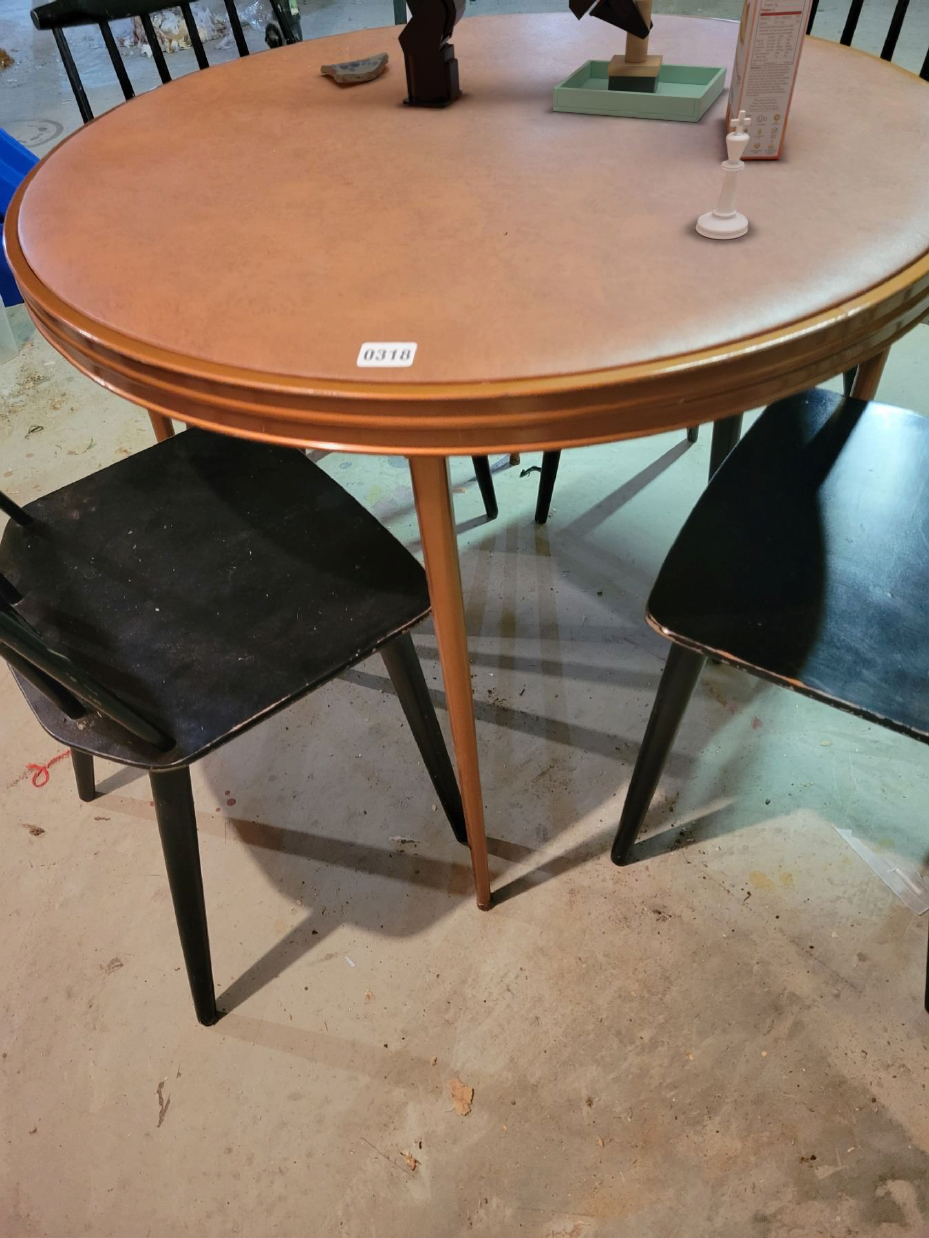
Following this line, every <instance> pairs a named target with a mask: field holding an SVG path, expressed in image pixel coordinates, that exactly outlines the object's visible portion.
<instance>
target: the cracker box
mask: <svg viewBox="0 0 929 1238" xmlns="http://www.w3.org/2000/svg"><path fill="white" fill-rule="evenodd" d="M812 6H813V0H743V2H742V6H741V14H740V22H739V27H738V34H737V39H736V41H737V42H736V47H735V54H734V59H733V66H732V73H731V80H730V86H729V93H728V99H727V104H726V105H727V106H726V113H725V121H726V122H725V124H726V136H727V135H728V134H730V133H733V132H736V127H737V126H734V127H731V126H730V122H731V120H732V119H738V115H739V111H742V110H744V111H745V112H746V113H745V118H751V123H750V125H743V130H742V132H744V133H746V134H748V135H749V141H748V143H747V145H746V146H745V148H744V151H743V153H742V155H741V157H740V161H743V160H775V159H776V160H780V159H781V154H782V150H783V145H784V142H785V141H784V139H785V135H786V131H787V126H788V120H789V116H790V111H791V106H792V103H793V97H794V92H795V87H796V82H797V77H798V72H799V68H800V63H801V58H802V53H803V48H804V44H805V38H806V33H807V30H808V26H809V20H810V15H811V10H812Z"/></svg>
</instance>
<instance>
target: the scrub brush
mask: <svg viewBox="0 0 929 1238" xmlns="http://www.w3.org/2000/svg"><path fill="white" fill-rule="evenodd" d="M635 1H636V3H637V5H638V7H639V9H640V11H641V13H642V15H643V17H644V19H645V21H646V24H647V26H648V28H649V30H650V21H651V20H652V12H653V11H652V9H653V0H635ZM650 31H651V30H650ZM625 39H626V40H625V48H624V49H625V50H624V54H614V55H613V56H612V57H611V59H610V60H609V61H610V63H609V64H608V70H607V76H609V81H608V90H610V91H624V92H639V93H654V94H655V93H656V91H657V88H658V79H659V71H660V68H661V66H662V64H663V57H664V56H663V54H648V49H649V40H650V34H649V35H648V36H647V37H646V38H645V39H644V40H643V39H640V38H638V37H636V36H634V35H632V34H630V33H628V32H626V38H625Z"/></svg>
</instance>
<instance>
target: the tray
mask: <svg viewBox="0 0 929 1238" xmlns="http://www.w3.org/2000/svg"><path fill="white" fill-rule="evenodd" d="M610 61H611V60H601V59H588V60H586V61H585V62H584V63H583V64H582V65H581V66H579V67H578V68H577V69H576V70H574V71H573V72H572V73H570V74H569V75H568V76H567V77H565V79H563V80H562V81H560V82H559V83H558V84H557V85H555V86H554V87H553V100H552V101H553V102H552V111H553V112H562V113H576V114H587V115H588V114H589V115H598V116H599V115H600V116H601V115H602V116H613V117H626V118H638V119H651V120H664V121H675V122H676V121H677V122H689V123H698V122H699V120H700V119H701V118H702V117H703V116H704V115H705V113H706V112H707V111H708V109H709V108H710V107H711V106H712V105H713V103H714V102H715V101H716V100H717V99H718V97H719V96H720V95H721V94H722V93H723V91H724V89H725V84H726V77H727V71H728V67H727V66H714V65H713V66H712V65H692V64H677V63H662V66H661V68H660V71H659V79H658V88H657V91H656V93H655V94H654V93H639V92H624V91H610V90H608V81H609V76H607V70H608V64H609V63H610Z"/></svg>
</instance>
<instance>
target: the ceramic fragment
mask: <svg viewBox="0 0 929 1238" xmlns="http://www.w3.org/2000/svg"><path fill="white" fill-rule="evenodd" d="M389 57H390V56H389V54H388V53H387V52H381V53H378V54H375V55H371V56H368V57H366V58H365V57H364V58H361V59H357V60H353V61H347V62H341V63H339V62H338V63H334V64H333V63H332V64H323V65H321V66H320V70H319V71H320V73H321V74H328V75H329V76H332V77H333V79H334V80H335V81H336V82H337V83H339V84H340V83H341V84H349V83H350V84H352V83H363V82H367V81H371V80H374V79H375V78H376V77H378V76H379V75H380V74H381V73H382V72H383V70H384V69H385V66H386V65H387V64H389V61H390V60H389Z"/></svg>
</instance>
